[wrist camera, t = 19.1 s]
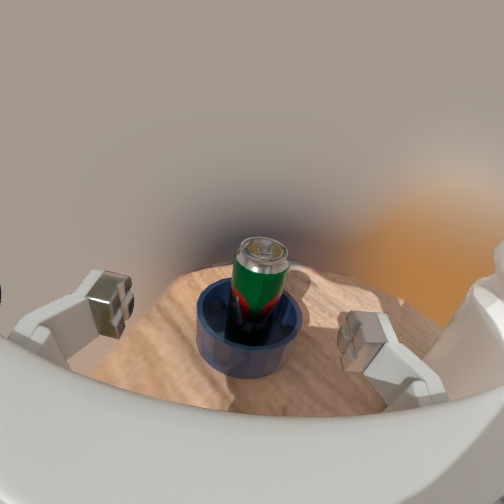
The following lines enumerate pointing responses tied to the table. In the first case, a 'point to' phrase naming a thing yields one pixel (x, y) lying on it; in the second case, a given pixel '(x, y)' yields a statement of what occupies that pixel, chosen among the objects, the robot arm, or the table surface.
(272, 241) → the soda can
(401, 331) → the table surface
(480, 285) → the bottle
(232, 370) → the bowl
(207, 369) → the table surface
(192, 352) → the table surface
